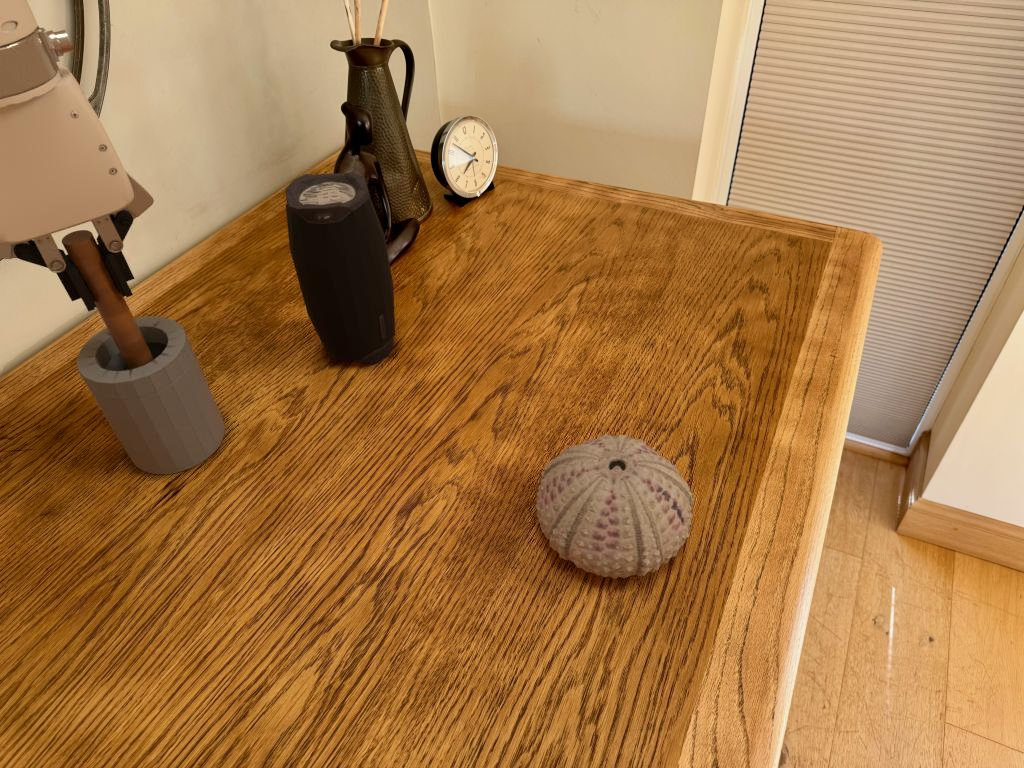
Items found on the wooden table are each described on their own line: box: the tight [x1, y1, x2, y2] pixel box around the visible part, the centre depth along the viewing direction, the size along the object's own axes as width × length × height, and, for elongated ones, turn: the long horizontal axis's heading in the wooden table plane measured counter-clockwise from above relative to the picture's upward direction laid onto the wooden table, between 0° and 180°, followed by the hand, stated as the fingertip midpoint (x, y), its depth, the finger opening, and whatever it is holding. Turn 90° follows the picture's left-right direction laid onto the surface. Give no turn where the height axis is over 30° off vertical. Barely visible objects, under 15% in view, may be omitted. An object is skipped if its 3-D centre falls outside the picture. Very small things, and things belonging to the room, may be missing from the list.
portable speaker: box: [285, 171, 396, 366], centre depth 75 cm, size 9×9×20 cm
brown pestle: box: [61, 229, 154, 370], centre depth 62 cm, size 4×4×18 cm
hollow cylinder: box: [76, 315, 226, 475], centre depth 68 cm, size 9×9×12 cm
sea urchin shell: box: [534, 433, 696, 580], centre depth 61 cm, size 13×14×8 cm
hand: (105, 294), depth 60 cm, fingers closed on brown pestle, 2 cm apart
